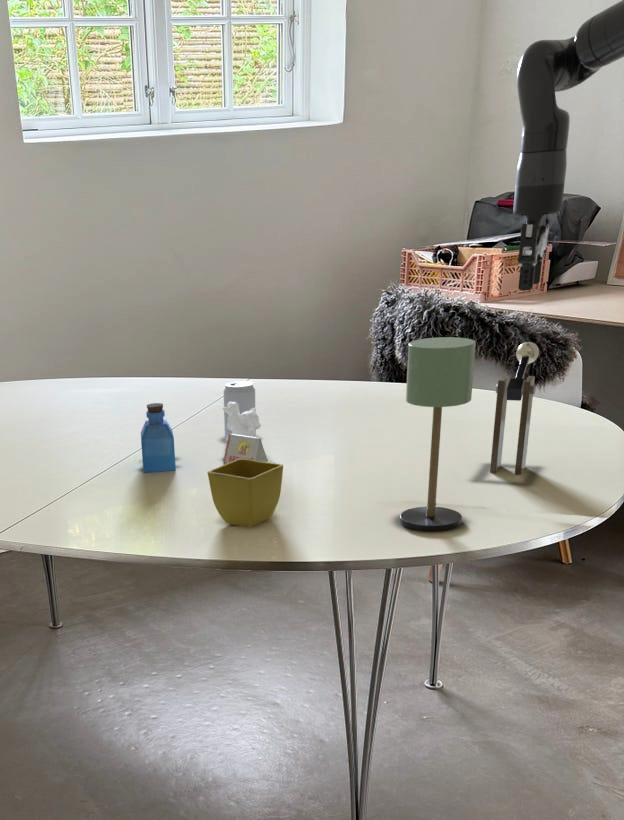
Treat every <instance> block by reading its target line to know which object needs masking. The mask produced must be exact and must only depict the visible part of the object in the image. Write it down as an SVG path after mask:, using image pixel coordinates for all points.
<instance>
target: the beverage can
mask: <svg viewBox="0 0 624 820" xmlns="http://www.w3.org/2000/svg"><path fill="white" fill-rule="evenodd" d="M224 386H225V388H224V389H223V408H224V407H227V404H228V402H230V401H231V402H236V403H238V406H239V411H240V415H241V414H242V413H243V412H246V411H250V410H251V409H252V408H256V388H255V387H254V383H253V382H252V381H246V380H239V381H230V382H227V383H225V385H224ZM227 408H228V407H227ZM228 416H229V415H228V413H226V412H225V411H224V410H223V417H224V440H225V442H227V436H228V435H229V434H232V431H231V430H229V429H228V428H227V423H228ZM254 431H255V434H254V436H253V437H256V438H257V429H256V430H254Z"/></svg>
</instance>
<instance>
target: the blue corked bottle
mask: <svg viewBox="0 0 624 820" xmlns="http://www.w3.org/2000/svg"><path fill="white" fill-rule="evenodd" d="M163 408H164V403H161V402H153V403H148V404H146V409H147V411H146V412H145V413H146V415H145V416H146V418H147V420H145V421H144V423H143V426H142V429H141V431H140V444H141V445H140V447H141V458H142V470H143V473H156V472H169V471H176V470H177V468H176V452H175V451H176V450H175V436H174V431H173V429H172V427H171V425H170V423H169V422H168V420H167V419H166V418H165V419H164V417H165V416H166V415H165V414H166V412H165V410H164V409H163Z"/></svg>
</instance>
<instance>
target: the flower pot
mask: <svg viewBox="0 0 624 820" xmlns="http://www.w3.org/2000/svg"><path fill="white" fill-rule="evenodd" d="M283 473H284V464H282V463H281V464H280V463H275V462H260V461H254V460H248V459H237V460H235V461H232V462H230V463H228V464H225V465H224V464H223V465H219V466H217V467H215V468H213V469H210V470H207V477H208V483H209V487H210V493H211V498H212V502H213V504H214V507H215V510H216V511H217V513H218V514H219V516H220V518H221V519H222V520H223V521H224V523H225V524H227V525H232V526H237V527H241V526H242V527H247V528H253V527H255V526H257V525H259V524H261V523H264V522H267V521H269V520H270V518H271V517H272V515H273V514H274V512H275V510H276V508H277V506H278V503H279V500H280V496H281V493H282V492H281V490H282V482H283Z"/></svg>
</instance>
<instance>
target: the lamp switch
mask: <svg viewBox="0 0 624 820" xmlns="http://www.w3.org/2000/svg"><path fill="white" fill-rule="evenodd" d="M539 355H540V348H539V347H538V345H537V344H536V343H534V342H532V341H525V342H522V343H521V344H520V345H518V347H517V349H516V352H515V356H516V359H517V361H518V362H519V365H518V369H517V370H516V374H515V377H509V384H508V387H507V401H517V402H522V398H523V388H524V381H525V378H524V377H525V374H526V373H527V372H526V371H527V369H528V366H529V365H530V364H532V363H534V362H535V361H536V360H537V359H538V357H539Z"/></svg>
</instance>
